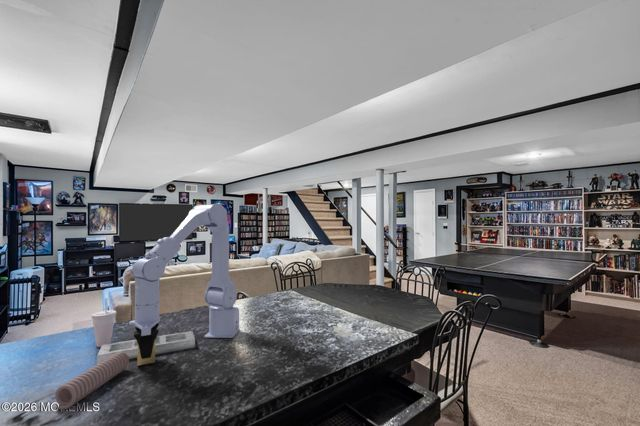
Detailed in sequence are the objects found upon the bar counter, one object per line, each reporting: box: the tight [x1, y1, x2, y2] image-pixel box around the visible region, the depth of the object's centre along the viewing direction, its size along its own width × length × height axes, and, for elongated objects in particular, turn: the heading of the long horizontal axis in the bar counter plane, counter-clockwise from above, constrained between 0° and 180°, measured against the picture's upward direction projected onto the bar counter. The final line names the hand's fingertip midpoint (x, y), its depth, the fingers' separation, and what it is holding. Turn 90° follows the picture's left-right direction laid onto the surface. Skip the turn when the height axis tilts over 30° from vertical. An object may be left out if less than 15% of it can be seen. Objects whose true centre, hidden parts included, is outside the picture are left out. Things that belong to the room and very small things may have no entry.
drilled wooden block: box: [134, 335, 160, 367], centre depth 82 cm, size 6×4×6 cm
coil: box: [54, 352, 130, 410], centre depth 70 cm, size 5×5×18 cm
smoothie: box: [90, 297, 117, 348], centre depth 95 cm, size 6×6×14 cm
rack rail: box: [96, 330, 196, 365], centre depth 90 cm, size 24×8×2 cm, turn 118°
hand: (146, 354), depth 82 cm, fingers closed on drilled wooden block, 4 cm apart
